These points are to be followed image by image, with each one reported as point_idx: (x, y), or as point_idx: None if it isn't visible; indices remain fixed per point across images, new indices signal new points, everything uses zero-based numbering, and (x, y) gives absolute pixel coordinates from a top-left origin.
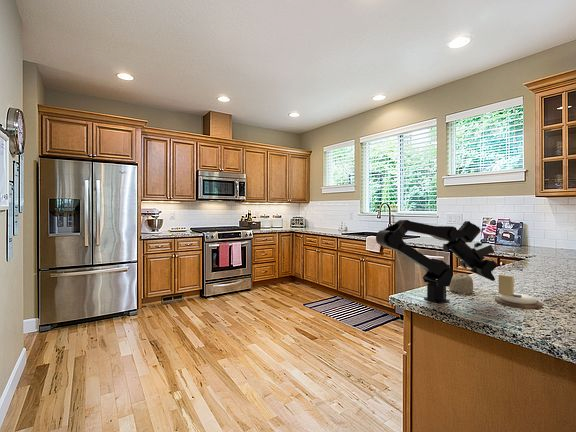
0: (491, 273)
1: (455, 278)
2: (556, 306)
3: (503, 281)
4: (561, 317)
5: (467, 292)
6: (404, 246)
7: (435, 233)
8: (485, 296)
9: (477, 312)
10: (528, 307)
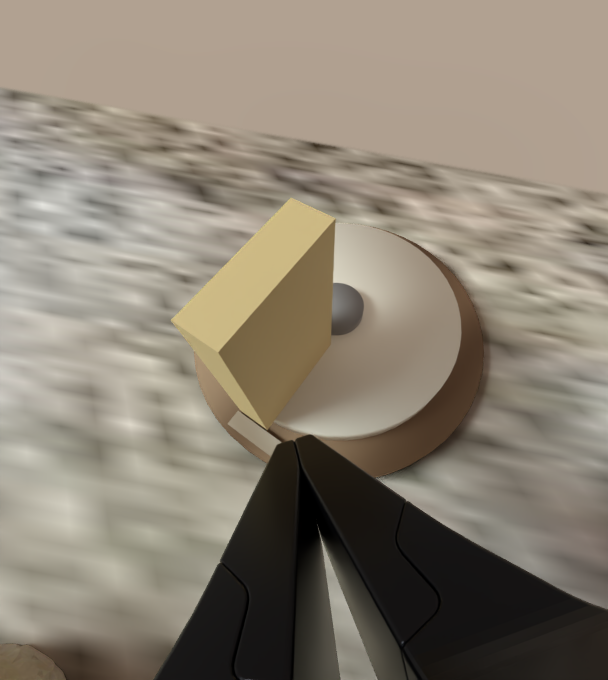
0: (395, 499)
1: None
2: (325, 183)
3: (281, 341)
4: (556, 210)
5: None
6: None
7: None
8: (196, 537)
9: None
10: (467, 303)
